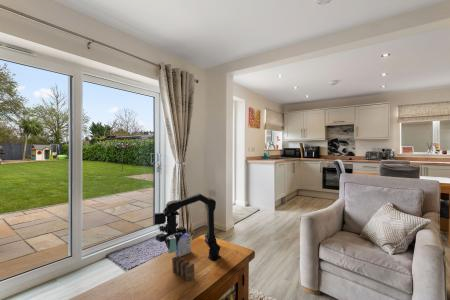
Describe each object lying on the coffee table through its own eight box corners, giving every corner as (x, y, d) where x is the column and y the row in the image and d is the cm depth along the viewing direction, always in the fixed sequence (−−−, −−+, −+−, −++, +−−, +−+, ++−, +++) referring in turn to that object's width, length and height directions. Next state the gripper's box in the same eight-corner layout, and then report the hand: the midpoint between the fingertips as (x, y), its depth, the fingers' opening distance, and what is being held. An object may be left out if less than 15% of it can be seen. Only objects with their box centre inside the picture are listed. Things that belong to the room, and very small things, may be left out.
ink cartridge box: (187, 249, 155) (186, 229, 155) (191, 252, 151) (190, 231, 151) (175, 254, 149) (174, 233, 149) (178, 257, 145) (178, 235, 144)
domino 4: (181, 277, 122) (180, 263, 122) (188, 273, 125) (187, 260, 125) (182, 278, 121) (182, 264, 121) (189, 274, 124) (189, 261, 124)
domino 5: (185, 280, 119) (185, 266, 119) (192, 276, 122) (192, 262, 122) (187, 281, 118) (187, 267, 118) (194, 277, 121) (194, 263, 121)
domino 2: (172, 271, 128) (172, 258, 128) (179, 268, 131) (178, 255, 131) (174, 272, 127) (173, 259, 127) (180, 269, 130) (180, 256, 130)
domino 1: (168, 253, 131) (167, 240, 131) (174, 250, 135) (174, 237, 134) (169, 253, 130) (169, 240, 130) (176, 251, 133) (176, 238, 133)
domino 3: (176, 274, 125) (176, 260, 125) (183, 270, 128) (183, 257, 128) (178, 275, 124) (177, 261, 124) (185, 271, 127) (184, 258, 127)
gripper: (177, 216, 144) (177, 239, 145) (150, 223, 131) (151, 249, 131) (187, 219, 137) (187, 244, 137) (160, 228, 123) (161, 255, 123)
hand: (172, 247), depth 132 cm, fingers closed on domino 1, 5 cm apart
